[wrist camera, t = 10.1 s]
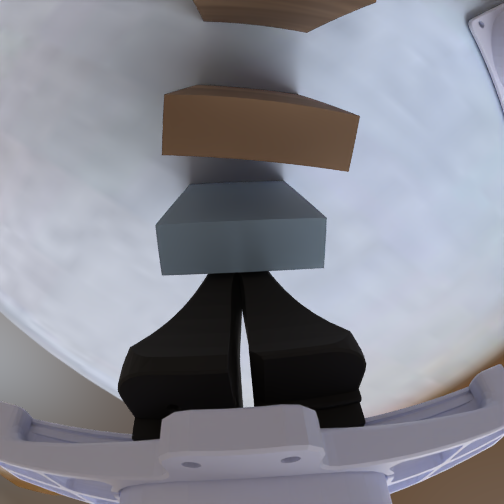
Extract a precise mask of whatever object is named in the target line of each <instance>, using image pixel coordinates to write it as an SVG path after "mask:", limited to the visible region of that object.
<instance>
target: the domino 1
mask: <svg viewBox="0 0 504 504" xmlns="http://www.w3.org/2000/svg"><path fill="white" fill-rule="evenodd" d="M193 1H194V3H195V5H196V7H197V9H198V11H199V13H200V15H201V17H202V19H203V21H207V22H227V23H241V24H251V25H260V26H268V27H276V28H282V29H289V30H295V31H300V32H306V33H307V32H309V31H311V30H313V29H315V28H317V27H320V26H322V25H324V24H326V23H328V22H330V21H332V20H335V19H337V18H339V17H341V16H344V15H346V14H348V13H351V12H353V11H355V10H358V9H360V8H363V7H365V6H368V5H370V4H373V3H376V0H193Z"/></svg>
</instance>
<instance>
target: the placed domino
mask: <svg viewBox="0 0 504 504" xmlns="http://www.w3.org/2000/svg"><path fill="white" fill-rule="evenodd" d="M326 220H327V218H326V217H325V216H324V215H323V214H322V213H321V212H319V211H318V210H317V209H316V208H315V207H314V206H313V205H312V204H310V203H309V202H308V201H307V200H306V199H305V198H303V197H302V196H301V195H300V194H299V193H298V192H296V191H295V190H294V189H293V188H292V187H291V186H289V185H288V184H287V183H286V182H285V181H253V182H227V183H207V184H191V185H189V186H188V187H187V189H186V190H185V191H184V192H183V193H182V194H181V195H180V197H179V198H178V199H177V200H176V201H175V202H174V204H173V205H172V206H171V207H170V208H169V209H168V211H167V212H166V213H165V214H164V215H163V217H162V218H161V219H160V220H159V221H158V223H157V224H156V225H155V226H156V234H157V242H158V250H159V258H160V265H161V272H162V275H187V274H212V273H235V272H256V271H276V270H295V269H313V268H324V258H325V241H326Z"/></svg>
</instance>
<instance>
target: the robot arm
mask: <svg viewBox="0 0 504 504" xmlns="http://www.w3.org/2000/svg"><path fill="white" fill-rule="evenodd" d="M479 23H480V26H479ZM468 24H469V28H470V30H471V32H472V34H473V36H474V39H475V41H476V43H477V45H478V47H479V49H480V51H481V54H482V56H483V58H484V60H485V63H486V65H487V68H488V70H489V72H490V75H491V77H492V80H493V83H494V85H495V88H496V91H497V94H498V97H499V99H500V102H501V106H502V109H503V112H504V3H503V4H501V5H498V6H496V7H494V8H492V9H490V10H488V11H486V12H484V13H482V14H480V15H478V16H476V17H474V18H472V19H470V20H469V23H468ZM242 312H243V317H244V323H245V328H246V334H247V339H248V344H249V356H250V367H251V377H252V387H253V398H254V407H247V408H243V400H242V385H241V370H240V341H241V320H242ZM365 369H366V362H365V358H364V355H363V353H362V351H361V348H360V347H359V345H358V343H357V341H356V340H355V338H354V337H353V335H352V333H351V332H350V331H348V330H346V329H344V328H342V327H339V326H337V325H335V324H333V323H330V322H328V321H327V320H325V319H323V318H321V317H319V316H318V315H316V314H314V313H313V312H311V311H310V310H309V309H307V308H306V307H304V306H303V305H301V304H300V303H299V302H298V301H296V300H295V299H294V298H293V297H292V296H291V295H290V294H289V293H287V292H286V291H285V290H284V289H283V288H282V286H281V285H280V284H279V283H278V282H277V281H276V280H275V279H274V277H273V276H272V275H271V274H270V272H269V271H256V272H235V273H212V274H208V275H207V276H206V278H205V280H204V281H203V283H202V284H201V285H200V287H199V288H198V290H197V291H196V293H195V294H194V295H193V296H192V298H191V299H190V300H189V301H188V302H187V303H186V305H185V306H184V307H183V308H182V309H181V310H180V311H179V312H178V313H177V314H176V315H175V316H174V317H173V318H172V319H171V320H169V321H168V322H167V323H166V324H165V325H163V326H162V327H161V328H159V329H158V330H157V331H155V332H154V333H153V334H151V335H150V336H148V337H147V338H145V339H143V340H142V341H140V342H138V343H137V344H135V345H133V346H132V347H130V349H129V351H128V354H127V356H126V358H125V361H124V364H123V367H122V370H121V374H120V379H119V383H118V392H119V394H120V396H121V398H122V400H123V401H124V403H125V404H126V405H127V407H128V408H129V410H130V411H131V412H132V414H133V415H134V417H135V421H134V427H133V434H122V433H113V432H104V431H97V430H90V429H84V428H78V427H72V426H66V425H61V424H55V423H51V422H46V421H41V420H37V419H33V418H32V417H31V416H30V414H29V413H28V412H27V411H26V410H24V409H23V408H21V407H20V406H17V405H14V404H10V403H6V402H2V401H0V466H1V467H2V468H4V469H5V470H7V471H8V472H10V473H11V474H13V475H14V476H16V477H17V478H19V479H21V480H24V481H26V482H29V483H31V484H34V485H37V486H39V487H42V488H45V489H48V490H50V491H53V492H56V493H59V494H62V495H65V496H68V497H71V498H74V499H77V500H80V501H84V502H87V503H91V504H392V501H391V497H390V494H391V493H393V492H396V491H399V490H401V489H404V488H406V487H409V486H411V485H414V484H416V483H419V482H421V481H423V480H425V479H427V478H430V477H432V476H434V475H437V474H439V473H441V472H443V471H445V470H447V469H449V468H451V467H453V466H455V465H457V464H459V463H461V462H463V461H465V460H467V459H469V458H471V457H472V456H474V455H476V454H478V453H480V452H482V451H484V450H485V449H487V448H489V447H491V446H493V445H494V444H495V443H496V442H498V441H499V440H500V439H501V438H502V437H503V436H504V368H503V366H502V365H501V364H499V365H496V366H494V367H492V368H489V369H487V370H484V371H482V372H480V373H479V374H478V375H476V376H475V378H474V379H473V380H472V382H471V383H470V385H469V387H466V388H464V389H461V390H459V391H456V392H453V393H450V394H448V395H445V396H442V397H439V398H436V399H433V400H430V401H427V402H424V403H421V404H417V405H414V406H411V407H407V408H404V409H400V410H397V411H393V412H389V413H385V414H381V415H377V416H373V417H369V418H364V415H363V412H362V408H361V405H360V402H361V395H360V391H359V386H360V384H361V381H362V378H363V376H364V373H365Z"/></svg>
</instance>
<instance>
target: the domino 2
mask: <svg viewBox="0 0 504 504" xmlns="http://www.w3.org/2000/svg"><path fill="white" fill-rule="evenodd" d="M359 118H360V116H358V115H355V114H353V113H350V112H348V111H345V110H342V109H340V108H337V107H334V106H331V105H328V104H326V103H323V102H320V101H317V100H314V99H311V98H308V97H305V96H301V95H298V94H291V93H284V92H277V91H269V90H260V89H251V88H240V87H227V86H211V85H195V86H191V87H188V88H184V89H181V90H178V91H174V92H171V93H168V94H165V95H164V110H163V135H162V155H176V156H199V157H217V158H232V159H245V160H256V161H267V162H277V163H286V164H295V165H303V166H311V167H319V168H326V169H334V170H340V171H347V172H349V167H350V163H351V158H352V153H353V148H354V144H355V139H356V133H357V128H358V123H359Z"/></svg>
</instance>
